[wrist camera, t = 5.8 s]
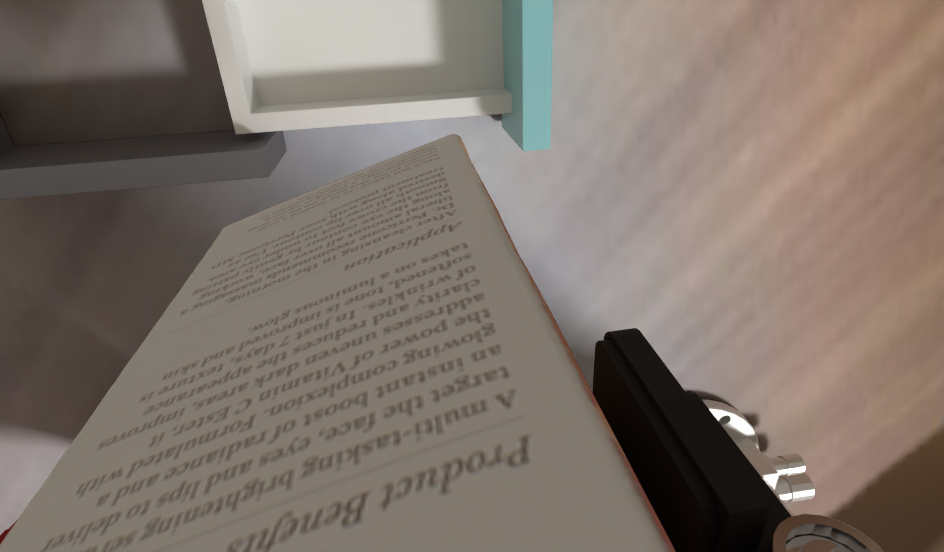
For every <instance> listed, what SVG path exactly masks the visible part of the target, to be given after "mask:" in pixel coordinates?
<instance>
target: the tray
mask: <svg viewBox="0 0 944 552" xmlns="http://www.w3.org/2000/svg"><path fill="white" fill-rule="evenodd" d="M202 2H203V6H204V10H205V14H206V18H207V22H208V26H209V30H210V34H211V38H212V42H213V46H214V50H215V54H216V58H217V62H218V66H219V70H220V74H221V78H222V82H223V86H224V89H225V93H226V97H227V101H228V105H229V109H230V113H231V117H232V121H233V125H234V129H235V133H236V134H246V133H259V132H271V131H284V130H297V129H310V128H323V127H336V126H349V125H362V124H374V123H387V122H400V121H413V120H426V119H439V118H452V117H465V116H477V115H490V114H502V127H503V128H504V130H505V131H506V132H507V133H508V134H509V135H510V137H511V138H512V139H513V140H514V141H515V142H516V143H517V145H518V146H519V147H520V148H521V149H522V150H523V151H530V150H542V149H550V141H551V88H552V35H553V0H202Z"/></svg>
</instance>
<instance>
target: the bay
mask: <svg viewBox="0 0 944 552" xmlns="http://www.w3.org/2000/svg"><path fill="white" fill-rule="evenodd" d="M285 152H286V146H285V141H284V137H283V132H282V131H271V132H259V133H246V134H236V133H235V130H226V131H213V132H200V133H187V134H174V135H161V136H148V137H135V138H122V139H109V140H96V141H83V142H70V143H57V144H44V145H31V146H18V147H14V144H13V142H12V140H11V138H10V135H9V133H8V131H7V129H6V126H5V124H4V122H3V120H2V118H1V115H0V200H4V199H16V198H28V197H39V196H51V195H63V194H75V193H86V192H98V191H110V190H121V189H133V188H145V187H156V186H168V185H180V184H191V183H203V182H215V181H227V180H238V179H250V178H262V177H269V175H270V174H271V172H272V171H273V170H274V168H275V167H276V165H277V164H278V162H279V161H280V159H281V158H282V156H283V155H284V153H285Z"/></svg>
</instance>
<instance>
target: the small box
mask: <svg viewBox="0 0 944 552" xmlns="http://www.w3.org/2000/svg"><path fill="white" fill-rule="evenodd" d="M0 552H676V551H675V549H674V548H673V546H672V544H671V542H670V540H669V538H668V536H667V534H666V532H665V530H664V528H663V526H662V525H661V523H660V521H659V519H658V517H657V515H656V513H655V511H654V509H653V507H652V506H651V504H650V502H649V500H648V498H647V496H646V494H645V492H644V490H643V488H642V487H641V485H640V483H639V481H638V479H637V477H636V475H635V473H634V471H633V469H632V467H631V466H630V464H629V462H628V460H627V458H626V456H625V454H624V452H623V450H622V448H621V447H620V445H619V443H618V441H617V439H616V437H615V435H614V433H613V431H612V429H611V428H610V426H609V424H608V422H607V420H606V418H605V416H604V414H603V412H602V410H601V408H600V407H599V405H598V403H597V401H596V399H595V397H594V395H593V393H592V391H591V389H590V387H589V385H588V383H587V381H586V379H585V378H584V376H583V374H582V372H581V370H580V368H579V366H578V364H577V362H576V360H575V358H574V356H573V354H572V352H571V350H570V348H569V346H568V344H567V342H566V340H565V339H564V337H563V335H562V333H561V331H560V329H559V327H558V325H557V323H556V321H555V319H554V317H553V315H552V313H551V311H550V309H549V308H548V306H547V304H546V302H545V300H544V298H543V297H542V295H541V293H540V291H539V289H538V288H537V286H536V284H535V282H534V280H533V279H532V277H531V275H530V273H529V271H528V269H527V268H526V266H525V264H524V262H523V261H522V259H521V258H520V256H519V254H518V252H517V250H516V248H515V246H514V244H513V242H512V240H511V238H510V236H509V234H508V232H507V230H506V227H505V225H504V223H503V221H502V219H501V217H500V214H499V212H498V210H497V208H496V206H495V205H494V203H493V201H492V199H491V197H490V195H489V193H488V192H487V190H486V188H485V186H484V184H483V182H482V181H481V179H480V177H479V175H478V173H477V172H476V170H475V168H474V166H473V164H472V162H471V160H470V158H469V156H468V153H467V151H466V148H465V145H464V143H463V142H462V140H461V138H460V136H458V135H456V134H451V135H448V136H446V137H443V138H441V139H438V140H436V141H433V142H431V143H428V144H425V145H423V146H420V147H418V148H415V149H413V150H410V151H408V152H405V153H403V154H400V155H398V156H395V157H393V158H390V159H388V160H385V161H383V162H380V163H378V164H375V165H373V166H370V167H368V168H365V169H363V170H361V171H358V172H356V173H353V174H351V175H348V176H346V177H343V178H341V179H339V180H336V181H334V182H331V183H329V184H326V185H324V186H321V187H319V188H317V189H314V190H312V191H309V192H307V193H304V194H302V195H300V196H297V197H295V198H292V199H290V200H287V201H285V202H282V203H280V204H277V205H275V206H272V207H270V208H267V209H265V210H263V211H261V212H258V213H256V214H254V215H251V216H249V217H247V218H244V219H242V220H240V221H237V222H235V223H232V224H230V225H228V226H226V227H225V228H223V229H222V230H221V232H220V234H219V235H218V237H217V238H216V239H215V241H214V242H213V244H212V245H211V247H210V248H209V249H208V251H207V252H206V254H205V255H204V257H203V258H202V260H201V261H200V262H199V264H198V265H197V267H196V268H195V270H194V271H193V272H192V274H191V275H190V276H189V278H188V279H187V281H186V282H185V284H184V285H183V287H182V288H181V289H180V291H179V292H178V294H177V295H176V296H175V298H174V299H173V300H172V302H171V303H170V304H169V306H168V307H167V309H166V310H165V312H164V313H163V315H162V316H161V318H160V319H159V320H158V322H157V323H156V324H155V326H154V327H153V329H152V330H151V331H150V333H149V334H148V335H147V337H146V338H145V340H144V341H143V343H142V344H141V346H140V347H139V349H138V350H137V351H136V353H135V354H134V355H133V357H132V358H131V359H130V360H129V362H128V363H127V365H126V366H125V367H124V369H123V370H122V372H121V374H120V375H119V377H118V378H117V380H116V381H115V382H114V384H113V385H112V386H111V388H110V389H109V391H108V392H107V394H106V395H105V396H104V398H103V399H102V401H101V402H100V404H99V405H98V407H97V408H96V410H95V411H94V413H93V414H92V415H91V417H90V418H89V420H88V421H87V423H86V424H85V425H84V427H83V428H82V430H81V431H80V433H79V434H78V435H77V437H76V438H75V439H74V441H73V442H72V443H71V445H70V446H69V448H68V449H67V450H66V452H65V453H64V455H63V456H62V457H61V459H60V460H59V462H58V463H57V465H56V466H55V468H54V469H53V471H52V472H51V474H50V476H49V477H48V479H47V480H46V481H45V483H44V484H43V485H42V487H41V488H40V490H39V491H38V492H37V494H36V495H35V496H34V498H33V499H32V500H31V502H30V503H29V505H28V506H27V507H26V509H25V510H24V512H23V513H22V514H21V516H20V517H19V519H18V520H17V522H16V523H15V524H14V526H13V527H12V529H11V530H10V531H9V533H8V534H7V536H6V537H5V539H4V540H3V541H2V543H1V544H0Z"/></svg>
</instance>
